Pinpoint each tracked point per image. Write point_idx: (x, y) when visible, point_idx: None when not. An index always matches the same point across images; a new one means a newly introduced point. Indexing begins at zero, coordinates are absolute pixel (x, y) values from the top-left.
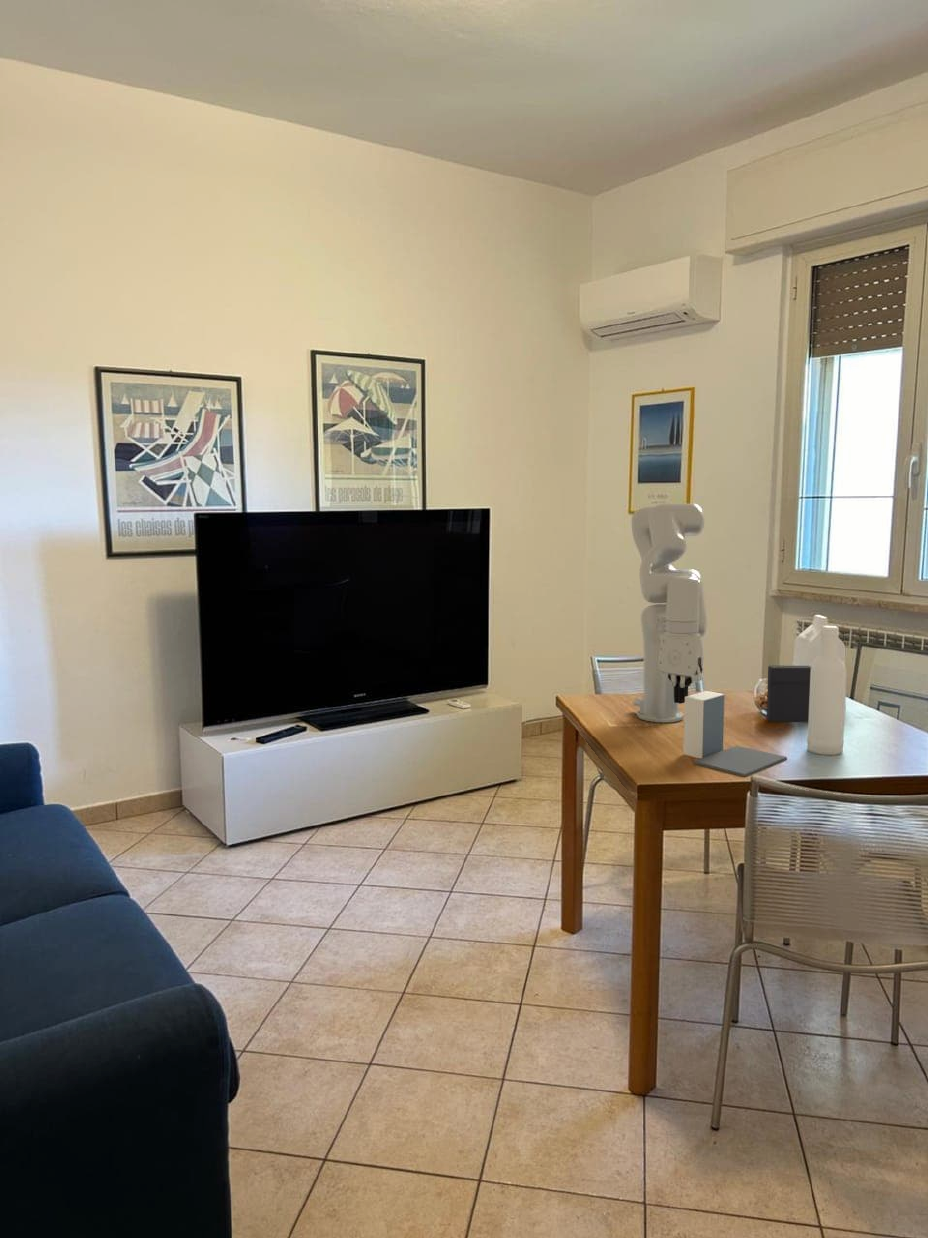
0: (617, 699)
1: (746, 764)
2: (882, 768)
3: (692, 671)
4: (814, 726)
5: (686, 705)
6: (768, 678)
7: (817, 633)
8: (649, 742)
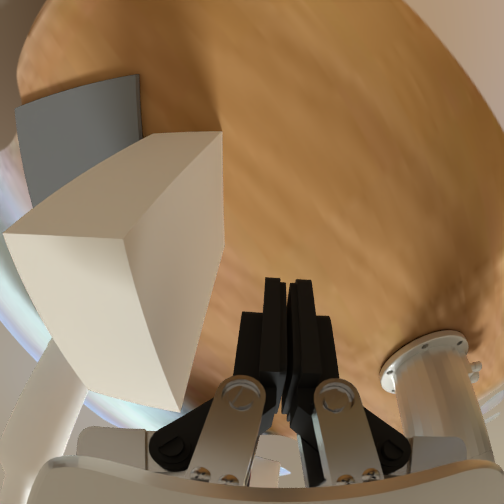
0: (494, 377)
1: (47, 169)
2: (6, 307)
3: (32, 491)
4: (53, 365)
5: (137, 203)
6: (246, 486)
7: None
8: (386, 178)
